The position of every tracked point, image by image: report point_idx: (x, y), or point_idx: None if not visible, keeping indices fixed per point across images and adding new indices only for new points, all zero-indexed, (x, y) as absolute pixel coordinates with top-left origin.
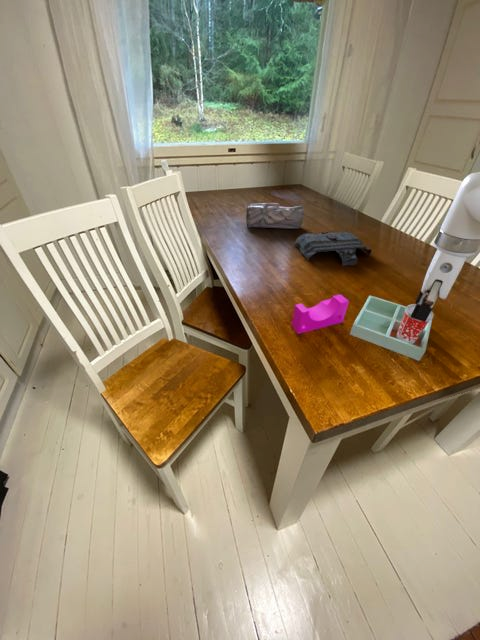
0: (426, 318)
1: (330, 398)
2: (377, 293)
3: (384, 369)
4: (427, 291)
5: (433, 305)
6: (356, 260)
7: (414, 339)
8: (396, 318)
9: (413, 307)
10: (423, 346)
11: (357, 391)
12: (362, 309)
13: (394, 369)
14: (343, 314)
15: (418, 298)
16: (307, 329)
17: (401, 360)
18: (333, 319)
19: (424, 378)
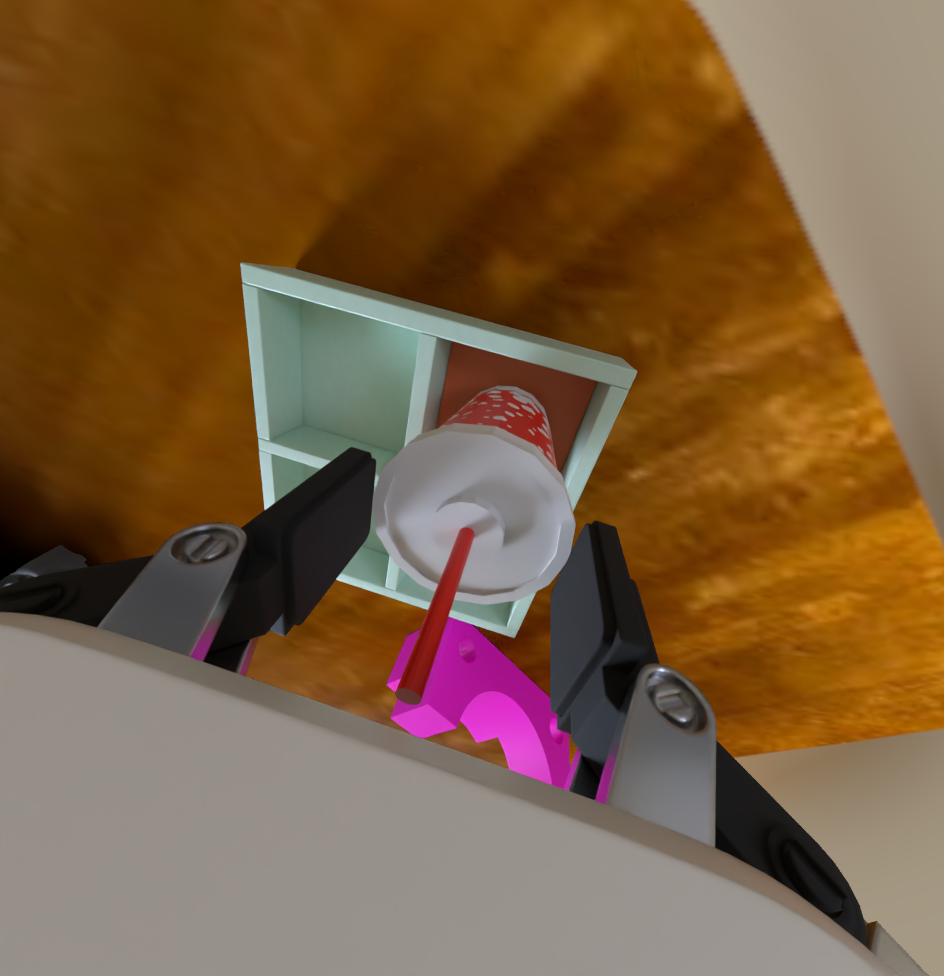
0: (618, 547)
1: (874, 676)
2: (193, 479)
3: (707, 512)
4: (278, 602)
5: (712, 743)
6: (43, 559)
7: (545, 418)
8: (338, 431)
9: (426, 552)
10: (595, 375)
11: (843, 608)
12: (392, 596)
13: (702, 475)
14: (451, 646)
15: (344, 566)
16: (548, 705)
17: (633, 439)
18: (482, 660)
19: (756, 348)
